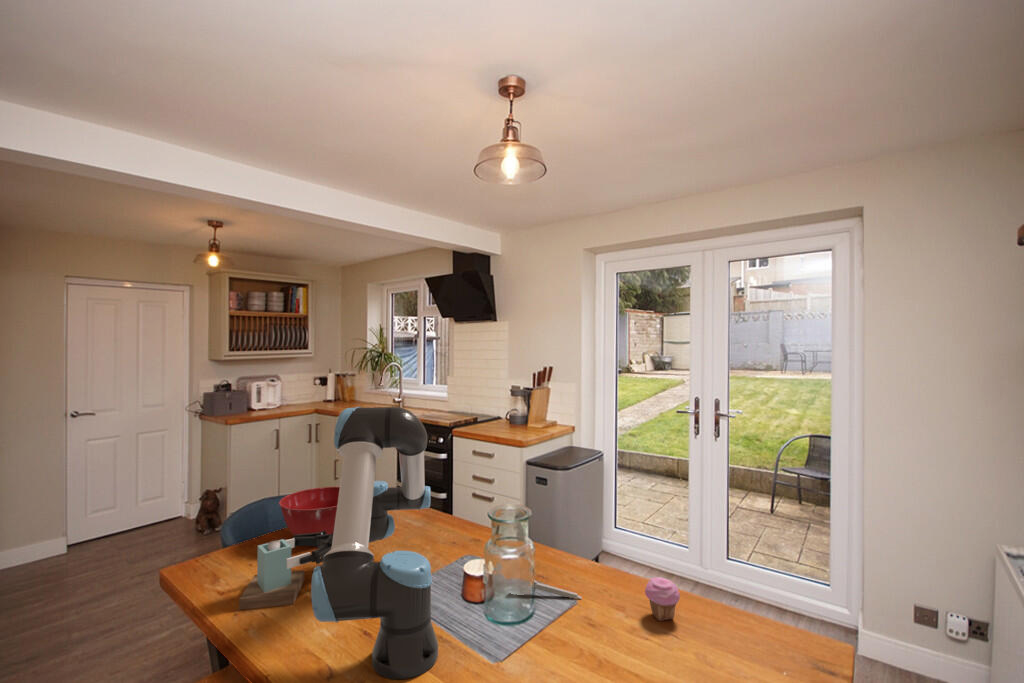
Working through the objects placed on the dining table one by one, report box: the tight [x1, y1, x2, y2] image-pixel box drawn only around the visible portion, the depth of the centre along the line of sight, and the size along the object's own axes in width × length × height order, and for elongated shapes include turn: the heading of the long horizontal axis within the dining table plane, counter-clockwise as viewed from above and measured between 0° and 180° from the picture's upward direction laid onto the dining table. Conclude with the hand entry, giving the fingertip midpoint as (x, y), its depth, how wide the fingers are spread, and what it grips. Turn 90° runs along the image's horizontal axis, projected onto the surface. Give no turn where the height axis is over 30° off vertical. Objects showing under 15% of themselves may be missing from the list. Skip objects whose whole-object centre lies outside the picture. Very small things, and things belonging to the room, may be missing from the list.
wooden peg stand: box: [238, 540, 305, 611], centre depth 139 cm, size 14×14×15 cm
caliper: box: [533, 579, 582, 600], centre depth 139 cm, size 20×1×6 cm, turn 81°
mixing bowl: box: [278, 486, 340, 536], centre depth 181 cm, size 28×28×16 cm
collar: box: [256, 538, 292, 593], centre depth 139 cm, size 7×7×11 cm
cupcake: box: [644, 576, 681, 622], centre depth 129 cm, size 9×9×10 cm
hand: (279, 556), depth 141 cm, fingers open, 13 cm apart
